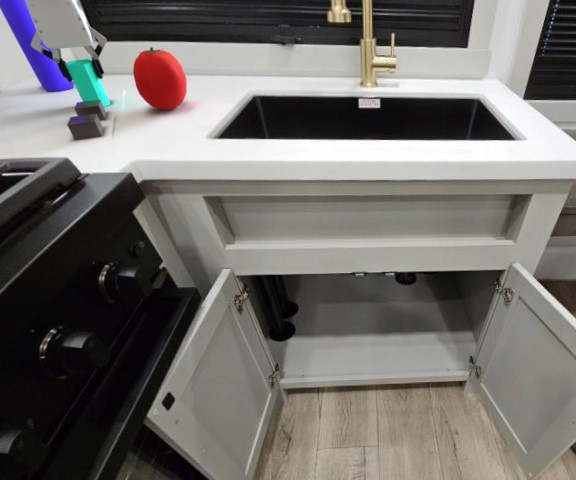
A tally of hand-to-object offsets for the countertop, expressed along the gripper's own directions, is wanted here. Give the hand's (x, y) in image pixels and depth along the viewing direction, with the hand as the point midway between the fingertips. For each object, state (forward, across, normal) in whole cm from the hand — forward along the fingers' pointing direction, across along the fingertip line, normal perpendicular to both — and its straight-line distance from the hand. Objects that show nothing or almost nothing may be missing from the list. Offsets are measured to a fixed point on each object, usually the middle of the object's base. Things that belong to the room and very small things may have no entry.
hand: (85, 78), depth 80 cm
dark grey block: (+7, 0, +22) cm, 23 cm away
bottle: (+7, +13, -27) cm, 31 cm away
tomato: (+7, -17, +8) cm, 20 cm away
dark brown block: (+7, 0, +11) cm, 13 cm away
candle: (+7, 0, 0) cm, 7 cm away
